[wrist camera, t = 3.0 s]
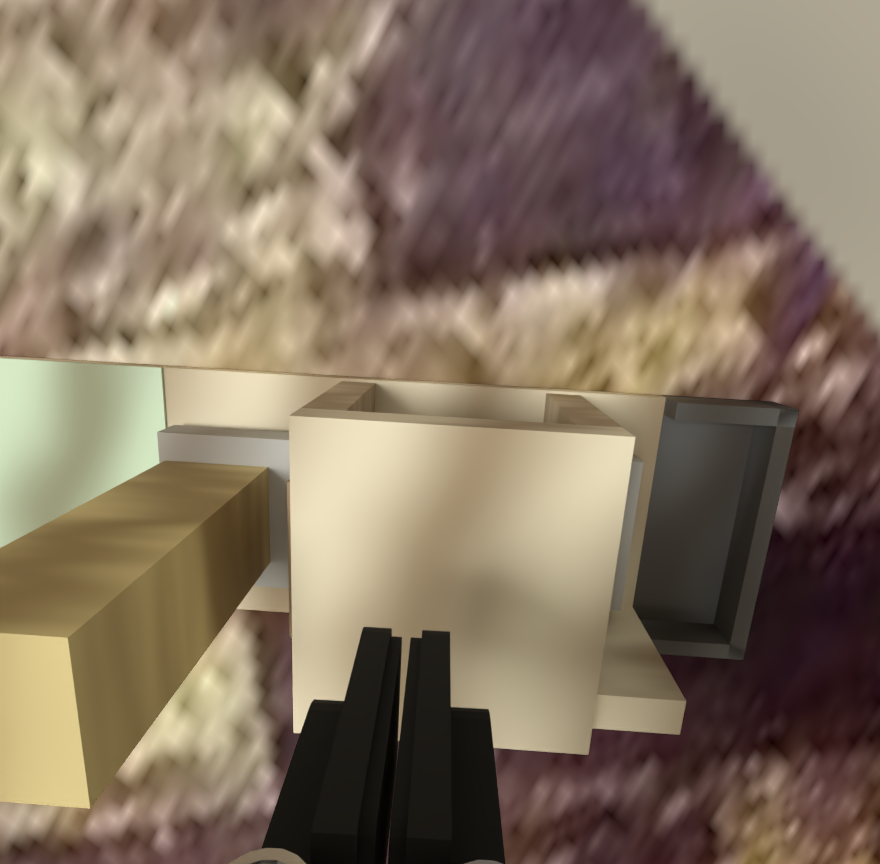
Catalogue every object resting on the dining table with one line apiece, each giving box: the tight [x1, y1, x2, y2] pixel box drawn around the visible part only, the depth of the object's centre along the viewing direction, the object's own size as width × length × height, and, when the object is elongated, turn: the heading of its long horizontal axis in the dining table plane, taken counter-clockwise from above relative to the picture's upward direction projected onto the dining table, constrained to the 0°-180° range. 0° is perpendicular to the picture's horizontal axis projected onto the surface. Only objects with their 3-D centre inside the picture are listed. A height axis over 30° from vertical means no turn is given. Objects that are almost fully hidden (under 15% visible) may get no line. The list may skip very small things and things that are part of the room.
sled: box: [0, 425, 644, 808], centre depth 14 cm, size 16×6×11 cm, turn 87°
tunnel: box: [0, 356, 799, 755], centre depth 17 cm, size 30×10×6 cm, turn 87°
